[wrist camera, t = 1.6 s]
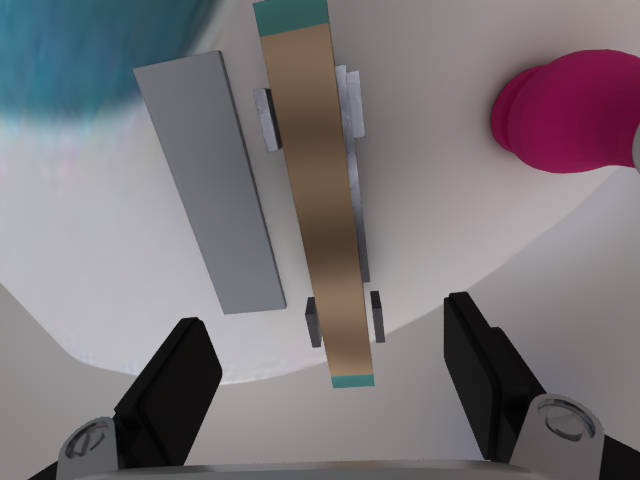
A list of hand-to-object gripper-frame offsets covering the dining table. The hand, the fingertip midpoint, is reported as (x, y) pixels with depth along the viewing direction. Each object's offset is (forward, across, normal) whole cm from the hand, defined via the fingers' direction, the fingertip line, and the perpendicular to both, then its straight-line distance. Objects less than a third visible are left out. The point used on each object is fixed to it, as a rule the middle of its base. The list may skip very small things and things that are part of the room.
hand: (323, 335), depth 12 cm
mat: (+18, +10, -1) cm, 20 cm away
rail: (+10, 0, -1) cm, 10 cm away
